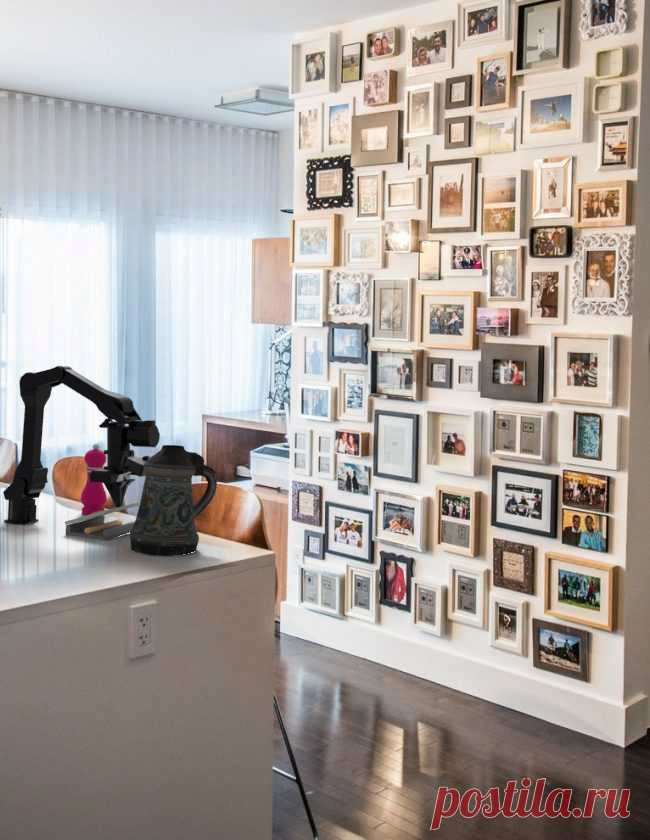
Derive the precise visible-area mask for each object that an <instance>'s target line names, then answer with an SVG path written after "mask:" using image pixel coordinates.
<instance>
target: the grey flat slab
mask: <svg viewBox="0 0 650 840" xmlns="http://www.w3.org/2000/svg"><path fill="white" fill-rule="evenodd" d="M134 523H135V520H134V521H132V522H131V521H130V522H127V523H123V520H122V519H116V520H112V521H108V522H105V516H99V517H95V518H91V519H87V520H83V521H78V522H74V523H70V524H66V525H65V536H72V537H79V538H80V537H81V538H87V539H88V538H89V539H93V540H100V539H102V540H101V541H110V540H113V539H112V538H114V539H116V538H115V537H117V538H119V537H118V536H120V535H123V534H126V533H129V532H131V530H132V528H133V525H134ZM109 539H110V540H109Z"/></svg>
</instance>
